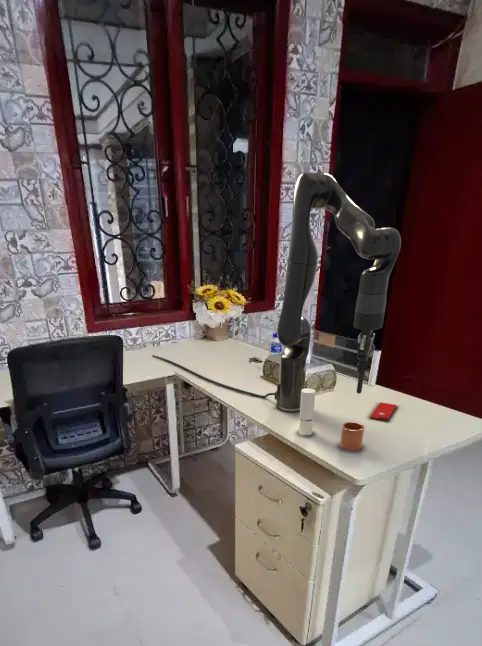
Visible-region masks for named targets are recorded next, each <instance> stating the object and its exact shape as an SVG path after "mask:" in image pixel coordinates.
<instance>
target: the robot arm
mask: <svg viewBox="0 0 482 646" xmlns="http://www.w3.org/2000/svg"><path fill="white" fill-rule="evenodd" d="M319 209H323V210H325V211H328V212H330V213H331V214H333V216H334V223H335V225H336V227H337V229H338V230H339V231H340V232H341V233H342V234H343V235H344V236H345V237H346V238H348V240H350V242H351V244H352V246H353V248H354V249H355V252H356V253H357V255H358V256H360V257H361V258H363V259H365V260H374V262H373V264H372V265H371V266H370V267H369V268H367V269H364V270H363V271H362V272H361V274H360V279H359V286H358V294H357V298H356V302H355V311H354V319H353V327H354V328H355V329H358V330H361V332H360V333H359V334H358V335H357V344H356V349H357V350H356V360H358V361H357V368H356V371H357V373H359V372H361V373H364V374H365V373H366V371H367V368H368V362H369V358H370V356H371V355H370V354H371V352H372V351H371V350H372V349H373V343H374V340H375V337H376V333H373V332H374V331H377V330H380V329H382V328H383V325H384V318H385V313H386V306H387V291H388V286H389V278H390V275H391V273H392V271H393V268H394V266H395V263H396V261H397V259H398V256H399V253H400V251H401V247H402V237H401V234H400V231H398V229H396V228H394V227H381V228H375V227H376V223H375V220H374V218H373V217H372V216H371V215H370V214H368V213H367V212H366V211H365V210H364V209H363V208H361V207H360V206H358V205H357V204H356V203H355V202H354V201H353V199H351V198H350V197H349V196H348V195H347V193H346V192H345V191H344V190H343V188H342V187H341V186H340V184H339V183H338V181H336V179H335V178H334V177H333V175H331V174H329V173H324V172H312V171H311V172H309V171H305V172H302V173H300V175H299V176H298V178H297V180H296V182H295V187H294V190H293V201H292V220H291V221H292V224H291V234H290V235H291V237H290V246H289V252H288V257H287V258H288V259H287V265H286V275H285V276H286V277H285V283H284V292H283V299H282V300H283V301H282V307H281V310H280V314H279V319H278V325H277V327H276V329H277V330H276V336H277V340H278V342H279V343H280V344H281V346H283V347H284V349H283V351H282V353H281V354H280V356H279V374H278V383H277V384H276V387H277V388H276V391H274V392H269V393H265V395H260V394H257V393H254V392H250V391H246V390H243V389H239V388H236V387H233V386H231V385H230V386H229V385H227V384H223V383H220V382H218V381H216V380H213V379H210V378H208V377H205V376H203V375H202V374H200V373H197V372H195V371H193V370H191V369H189V368H187V367H185V366H183V365H181V364H178V363H176V362H174V361H172V360H169V359H168V358H164V357H161V356H158V355H154V354H152V355H151V357H153V358H155V359H158V360H163V361H164V362H168V363H170V364H173V365H175V366H176V367H179V368H181V369H183V370H185V371H187V372H188V373H191V374H193V375H195V376H196V377H199V378H201V379H203V380H205V381H208V382H211V383H213V384H215V385H218V386H221V387H224V388H226V389H228V390H229V389H230V390H233V391H236V392H239V393H243V394H246V395H249V396H253V397H257V398H261V399H266V398H268V397H269V396H274V400H275V401H276V409H279V410H281V411H283V412H289V413H290V412H293V413H294V412H298V411H299V412H300V405H301V390H302V389H305V383H306V381H305V380H306V367H307V358H308V356H309V352H310V343H311V335H312V334H311V333H312V331H311V325H310V322H309V320H308V319H307V318H306V317H303V316H302V315H303V310H304V305H305V303H306V300H307V298H308V296H309V294H310V292H311V289H312V287H313V285H314V281H315V278H316V274H317V267H318V260H319V255H318V254H319V253H318V250H317V247H316V244H315V240H314V239H313V235H312V232H311V224H310V223H311V213H312V212H311V211H312V210H319ZM363 354H364V355H363Z"/></svg>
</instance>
